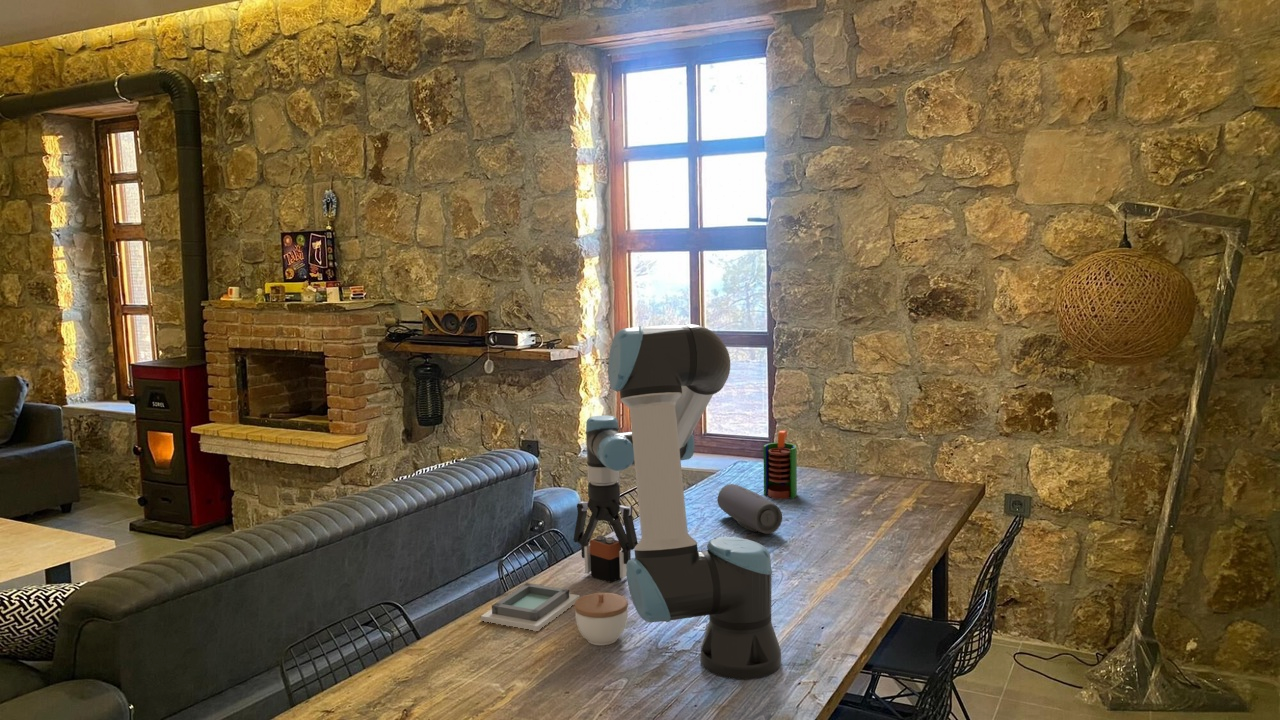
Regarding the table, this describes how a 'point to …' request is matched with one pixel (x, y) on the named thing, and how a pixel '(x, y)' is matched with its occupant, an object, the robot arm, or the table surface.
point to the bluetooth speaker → (750, 509)
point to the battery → (605, 558)
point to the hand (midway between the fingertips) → (606, 573)
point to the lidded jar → (601, 617)
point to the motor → (780, 468)
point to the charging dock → (530, 607)
